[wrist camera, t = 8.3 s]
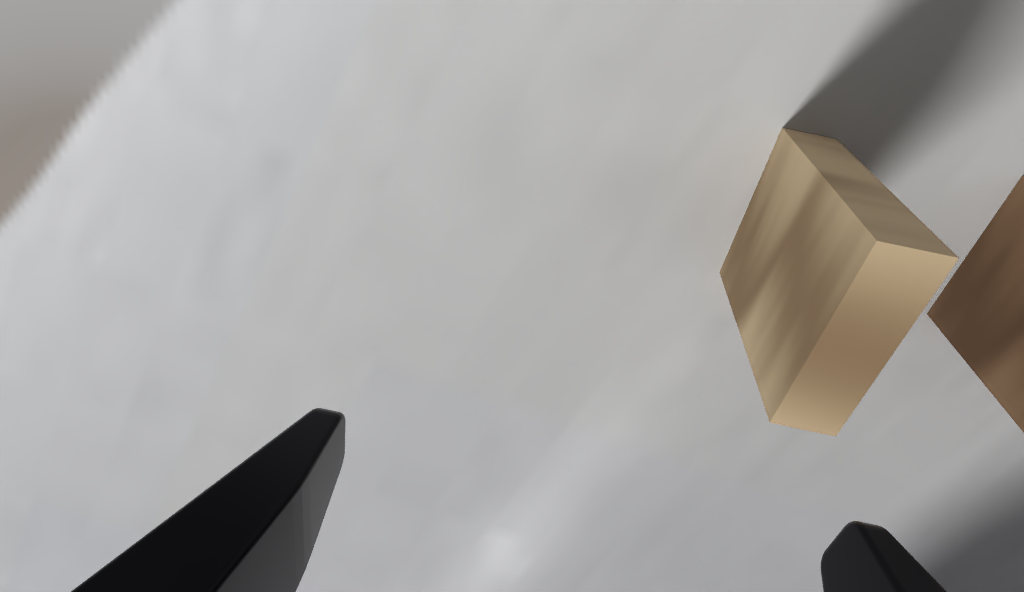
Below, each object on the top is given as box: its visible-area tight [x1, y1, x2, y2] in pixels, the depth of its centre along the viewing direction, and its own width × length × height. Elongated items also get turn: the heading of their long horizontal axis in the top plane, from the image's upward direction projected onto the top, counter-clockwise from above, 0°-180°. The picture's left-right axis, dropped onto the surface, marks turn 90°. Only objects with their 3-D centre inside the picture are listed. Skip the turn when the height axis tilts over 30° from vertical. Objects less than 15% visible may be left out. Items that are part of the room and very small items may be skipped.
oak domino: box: [720, 128, 959, 436], centre depth 16 cm, size 5×2×7 cm, turn 171°
